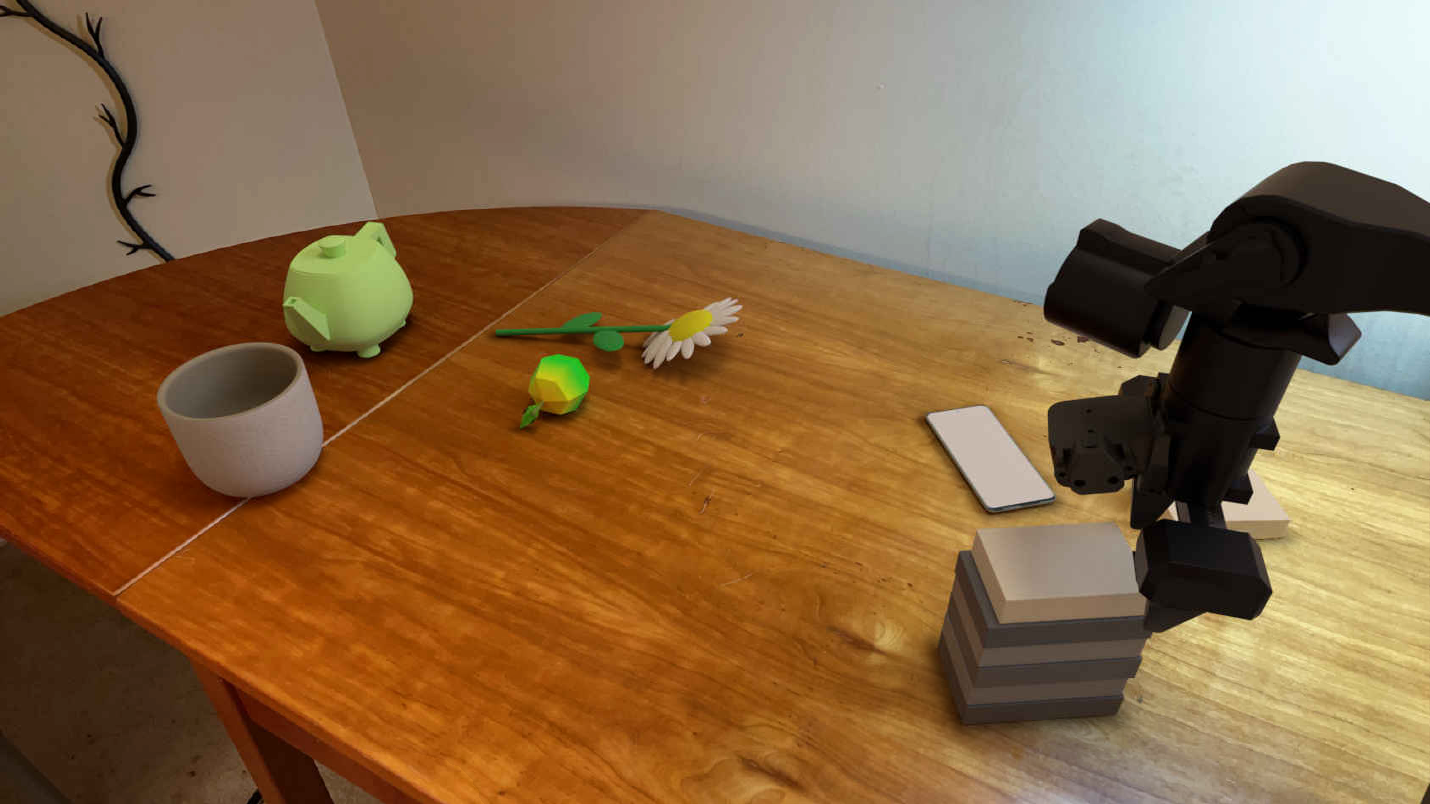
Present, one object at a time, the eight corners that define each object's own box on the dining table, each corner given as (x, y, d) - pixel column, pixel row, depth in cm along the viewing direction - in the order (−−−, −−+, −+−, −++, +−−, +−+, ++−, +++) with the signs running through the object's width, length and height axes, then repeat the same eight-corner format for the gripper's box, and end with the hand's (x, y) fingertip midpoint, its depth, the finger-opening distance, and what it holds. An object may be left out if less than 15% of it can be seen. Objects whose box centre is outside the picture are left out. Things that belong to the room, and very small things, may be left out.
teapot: (365, 390, 100) (335, 291, 92) (258, 375, 102) (220, 277, 95) (447, 299, 115) (427, 207, 108) (351, 288, 118) (325, 197, 110)
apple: (567, 330, 96) (525, 377, 89) (611, 371, 97) (573, 420, 90) (534, 364, 100) (491, 411, 93) (577, 403, 101) (538, 452, 94)
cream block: (1146, 615, 60) (1157, 591, 59) (999, 624, 60) (1006, 600, 58) (1106, 544, 66) (1115, 520, 64) (970, 552, 65) (976, 528, 64)
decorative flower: (482, 381, 105) (736, 378, 98) (471, 344, 102) (731, 339, 95) (522, 328, 115) (754, 322, 108) (512, 293, 112) (750, 285, 106)
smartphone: (989, 511, 83) (924, 413, 95) (988, 515, 83) (923, 417, 95) (1059, 499, 84) (985, 403, 96) (1057, 503, 85) (985, 407, 96)
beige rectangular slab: (1285, 538, 81) (1295, 519, 80) (1170, 545, 80) (1178, 526, 79) (1241, 483, 87) (1250, 464, 85) (1134, 489, 86) (1141, 470, 85)
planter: (231, 532, 83) (188, 440, 76) (178, 470, 90) (134, 380, 83) (357, 467, 90) (327, 377, 83) (298, 413, 97) (267, 327, 90)
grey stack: (1118, 715, 67) (1161, 617, 60) (962, 725, 66) (988, 628, 60) (1081, 638, 72) (1117, 541, 66) (937, 647, 72) (958, 550, 65)
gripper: (1067, 288, 60) (1019, 466, 69) (1080, 471, 46) (1018, 663, 55) (1250, 311, 58) (1175, 491, 67) (1325, 511, 43) (1216, 704, 53)
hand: (1144, 576), depth 61 cm, fingers open, 9 cm apart
